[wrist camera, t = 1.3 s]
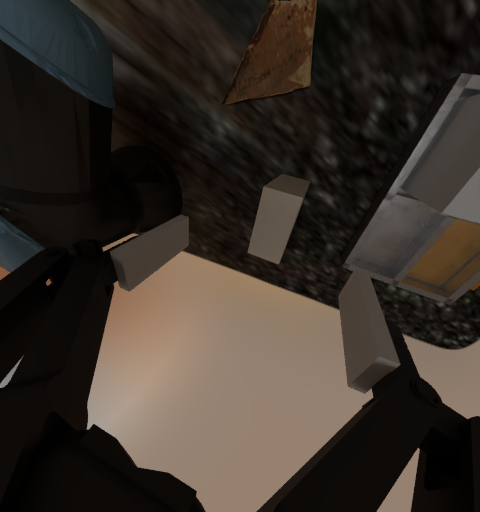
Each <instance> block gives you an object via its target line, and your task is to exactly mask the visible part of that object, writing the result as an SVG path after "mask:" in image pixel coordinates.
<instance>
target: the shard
mask: <svg viewBox="0 0 480 512" xmlns="http://www.w3.org/2000/svg"><path fill="white" fill-rule="evenodd" d="M316 6H317V0H293V1H278V0H271V1H270V4H269V6H268V7H267V9H266V12H265V14H264V15H263V17H262V19H261V21H260V24H259V26H258V30H257V31H256V33H255V34H254V36H253V38H252V40H251V42H250V45H249V46H248V48H247V50H246V52H245V54H244V56H243V59H242V61H241V63H240V65H239V67H238V69H237V72H236V74H235V77H234V79H233V82H232V84H231V87H230V89H229V90H228V92H227V94H226V95H225V97H224V100H223V102H222V105H223V104H231V103H234V102H238V101H241V100H245V99H250V98H253V99H254V98H262V97H265V96H273V95H276V94H283V93H288V92H292V91H294V90H295V89H300V88H305V87H309V86H310V82H311V63H312V45H313V36H314V26H315V19H316Z"/></svg>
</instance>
